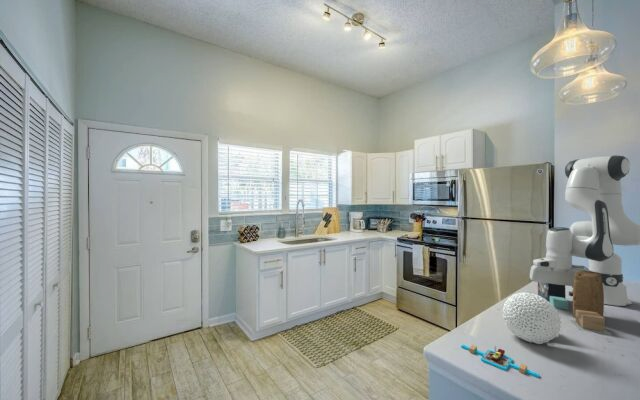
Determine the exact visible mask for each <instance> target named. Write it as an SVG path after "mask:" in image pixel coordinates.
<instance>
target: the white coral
mask: <svg viewBox="0 0 640 400" xmlns="http://www.w3.org/2000/svg"><path fill="white" fill-rule="evenodd" d="M502 319H503V322H504V325H505V326H506V327H507V330H509V331H510V332H511V333H513V335H515V336H517V337H518V338H519V339H521V340H523V341H526V342H529V343H534V344H537V345H540V344H541V345H542V344H544V343H549V342H550V341H553V339H556V338H558V337H559V336H560V332H561V328H562V325H561V324H562V320H561V317H560V314H559V312H558V310H557V308H555V307H554V306H552V304H551V303H550V302H548V301H547V300H546V299H545V298H543V297H541V296H539V295H538V294H536V293H532V292H525V291H523V292H518V293H514V294H512V295H511V296H509V297H508V298H507V299H506V300H505V302H504V305H503V308H502Z"/></svg>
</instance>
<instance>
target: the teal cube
mask: <svg viewBox="0 0 640 400" xmlns="http://www.w3.org/2000/svg"><path fill="white" fill-rule="evenodd" d="M565 298H566V297H565ZM565 298H562V297H554V296H550V303H551V304H552V306H554V307H555V309H559V310H560V309H561V310H565V311H568V310H569V300H567V299H565Z"/></svg>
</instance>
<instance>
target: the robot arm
mask: <svg viewBox="0 0 640 400" xmlns="http://www.w3.org/2000/svg"><path fill="white" fill-rule="evenodd" d="M630 168H631V165H630V161H629V159H628V158H627V157H626V156H624V155H611V156H610V155H609V156H608V155H607V156H605V155H603V156H601V155H600V156H594V157H586V158H582V159H574V160H570V161H569V162H568V163H567V164H566V165H565V167H564V173H565V177H566V178H567V181H566V187H565V190H564V191H565V193H564V199H565V202H566V203H567V204H568V205H569V206H570V207H572V208H573V209H576V210H579V211H581V212H584V213H586V214H588V215H589V216H590V217H591V220H580V221H574V222H573V223H572V224H571V225H570V226H569V228H568V227H566V226H565V227H562V226H559V227H557V226H556V227H551V228H548V230H547V233H546V239H545V248H546V253H545V257H542V258H536V259H533V260H532V264H533V265H531V267H530V270H529V279H530V280H531V281H532V282H534V283H538V282H539V284H540V286H541V287H542V292H543V293H548V292H547V291H548V289H546V288H544V286H543V285H545V283H550V284H558V285H565V287H566V286H568V287H571V288H572V289H571V290H569V291H568V296H569V297H573V284H574V279H575V274H576V273H577V272H579V271H591V272H596V273H600V274H601V276H602V283H603V291H604V305H610V306H618V307H621V306H622V307H624V306H627V305H633V304H632V301H630V300H629V297H628V289H627V286H626V285H625V284H624V283H623V282H624V275H623V273H622V267H623V266H622V265H623V264H622V263H623V262H622V258H621V257H620V256H619V255H618V254H617V253H614V246H615V245H616V246H624V247H628V246H631V247H632V246H640V225H639V224H638V223H636V222H634V221H633V220H631V219H630V218H629V217H628V215H627V214H626V213H625V211H624V207H623V198H622V195H623V194H622V193H623V191H622V184H621V179H623V178H624V177H626V175H628V174H629V172H630ZM573 257H577V258H583V259H587V260H588V267H587V266H585V265H577V264H573Z"/></svg>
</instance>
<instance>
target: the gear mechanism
mask: <svg viewBox="0 0 640 400" xmlns="http://www.w3.org/2000/svg"><path fill="white" fill-rule="evenodd" d="M461 349H464V350H467V351H468V352H469V353H471V354H473V355H474V354H477V355H479V356H481V357H480V361H481V362H483V363H484V364H485V363H486V364H488V365H489V366H493V367H496V368H497V369H499V370H502V371H508V369H509V368H512V369H516V370H517V371H518V373H521V374H524V375H525V374H528V375H530V376H532V377H535V378H538V379H539V377H540V373H537V372H534V371H532V370H529V369H528V365H527V364H524V363H521V364H520V366H519V365H518V364H517V365H516V364H515V363H513V362H514V360H513V358H512V357H510V356H507V355H506V354H505V350H504V349H501V348H498V349H497V346H496V345H494V350H492V349H488V350H486V352H483V351H481V350H479V349H478V346H476V345H474V344H472V345H471V346H468V345H466V344H461Z"/></svg>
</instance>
